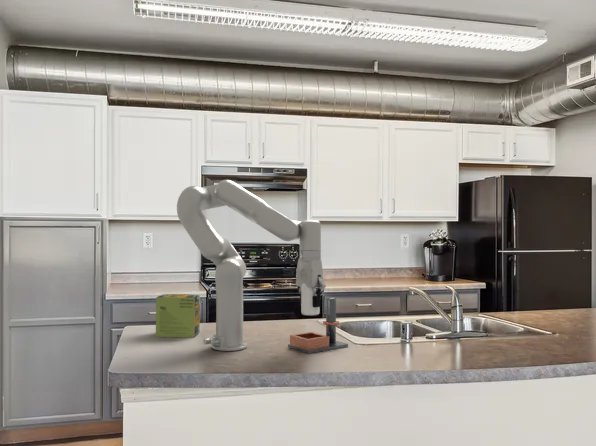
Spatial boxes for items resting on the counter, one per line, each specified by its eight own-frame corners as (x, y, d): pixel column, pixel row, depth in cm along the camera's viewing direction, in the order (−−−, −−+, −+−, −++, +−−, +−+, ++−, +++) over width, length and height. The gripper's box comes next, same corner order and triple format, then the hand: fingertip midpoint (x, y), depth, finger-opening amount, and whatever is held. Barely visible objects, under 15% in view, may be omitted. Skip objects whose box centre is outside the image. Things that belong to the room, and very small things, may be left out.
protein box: (195, 337, 213) (195, 297, 212) (155, 337, 213) (155, 296, 213) (200, 332, 223) (200, 293, 223) (162, 331, 223) (162, 293, 223)
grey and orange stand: (309, 353, 188) (309, 303, 188) (288, 347, 197) (288, 299, 197) (348, 346, 199) (348, 299, 199) (326, 340, 208) (326, 295, 208)
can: (320, 312, 198) (320, 279, 198) (319, 315, 192) (319, 281, 192) (302, 312, 199) (302, 279, 199) (300, 315, 193) (300, 281, 193)
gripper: (287, 254, 200) (287, 303, 200) (317, 256, 186) (317, 309, 186) (303, 253, 205) (303, 301, 205) (334, 255, 191) (334, 307, 191)
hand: (310, 305), depth 195 cm, fingers closed on can, 6 cm apart
